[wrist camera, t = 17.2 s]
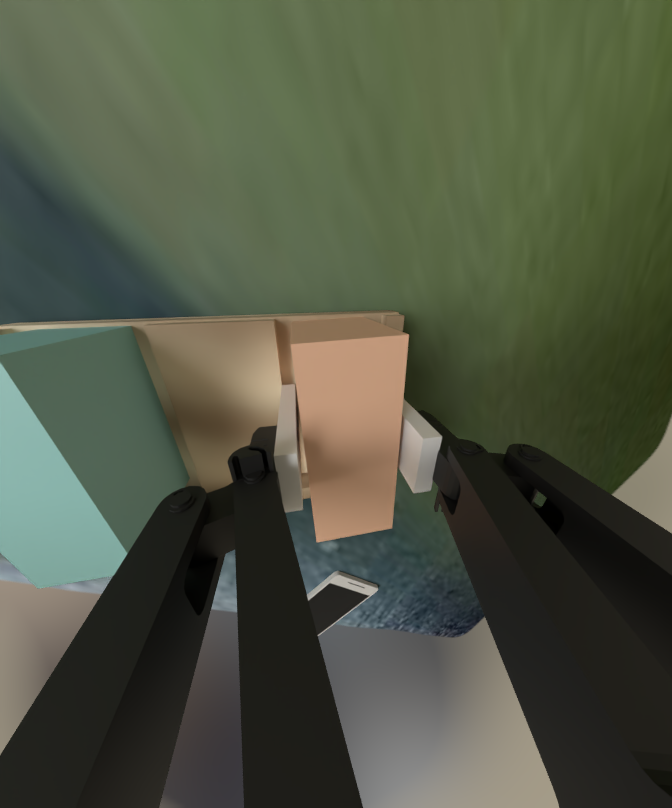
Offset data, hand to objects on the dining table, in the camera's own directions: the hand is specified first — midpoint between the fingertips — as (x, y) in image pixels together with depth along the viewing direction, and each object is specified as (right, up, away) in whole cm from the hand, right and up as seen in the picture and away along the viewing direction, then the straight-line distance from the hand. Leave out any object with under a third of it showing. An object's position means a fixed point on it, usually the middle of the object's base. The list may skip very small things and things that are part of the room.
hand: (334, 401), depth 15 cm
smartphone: (-2, -26, +16) cm, 30 cm away
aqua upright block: (-12, -1, -1) cm, 12 cm away
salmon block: (0, 0, +1) cm, 1 cm away
